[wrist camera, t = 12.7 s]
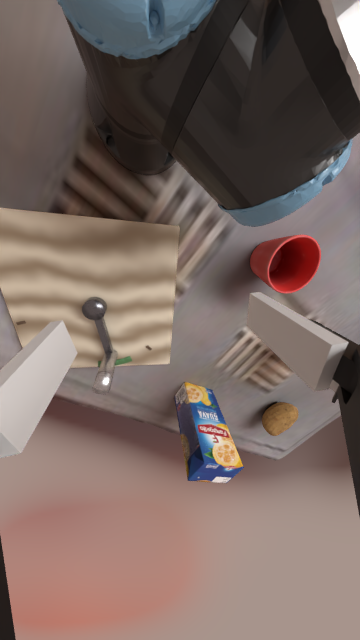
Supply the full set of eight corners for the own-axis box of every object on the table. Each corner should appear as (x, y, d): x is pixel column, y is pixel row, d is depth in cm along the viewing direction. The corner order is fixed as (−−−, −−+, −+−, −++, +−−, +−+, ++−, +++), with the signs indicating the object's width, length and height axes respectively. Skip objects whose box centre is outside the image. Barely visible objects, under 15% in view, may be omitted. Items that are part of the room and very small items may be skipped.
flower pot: (253, 290, 45) (277, 304, 36) (236, 252, 40) (260, 258, 32) (291, 265, 44) (326, 274, 35) (278, 222, 39) (315, 220, 30)
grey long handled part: (82, 298, 37) (59, 322, 28) (104, 295, 38) (89, 318, 28) (103, 360, 45) (92, 396, 35) (121, 357, 46) (114, 392, 36)
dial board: (-23, 205, 30) (-32, 204, 28) (178, 226, 36) (180, 226, 34) (33, 365, 45) (29, 370, 43) (168, 360, 51) (169, 364, 49)
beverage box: (201, 403, 62) (226, 483, 42) (174, 396, 58) (187, 480, 38) (212, 390, 59) (244, 467, 40) (184, 381, 56) (204, 463, 36)
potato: (292, 400, 70) (309, 419, 62) (265, 421, 73) (278, 441, 66) (279, 391, 66) (295, 411, 59) (251, 414, 69) (263, 435, 62)
